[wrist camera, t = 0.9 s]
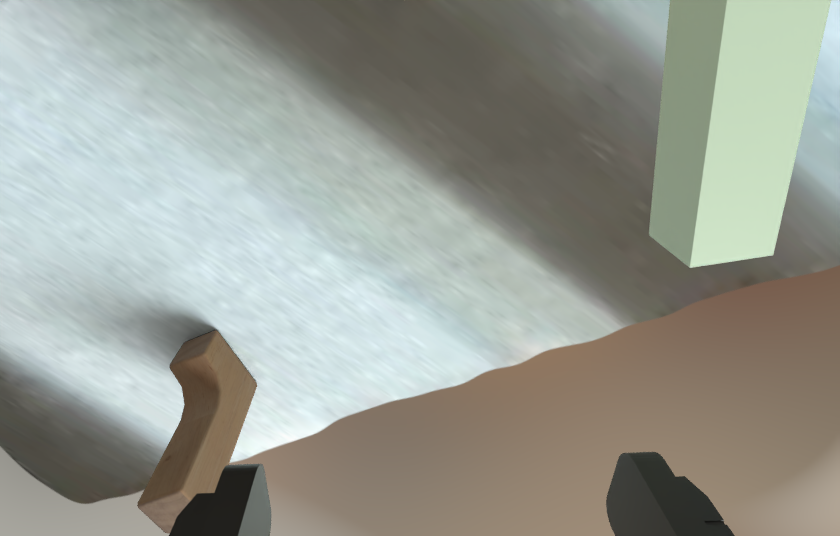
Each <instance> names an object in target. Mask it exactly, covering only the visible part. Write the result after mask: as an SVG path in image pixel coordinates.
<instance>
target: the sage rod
mask: <svg viewBox="0 0 840 536" xmlns="http://www.w3.org/2000/svg"><path fill="white" fill-rule="evenodd" d="M830 3H831V0H670V7H669V19H668V30H667V41H666V52H665V63H664V74H663V85H662V96H661V107H660V118H659V129H658V140H657V151H656V162H655V173H654V184H653V195H652V206H651V217H650V228H649V235H650V236H651V237H652V238H653V239H655V240H656V241H657V242H658V243H660V244H661V245H662V246H663V247H665V248H666V249H667V250H668V251H670V252H671V253H672V254H673V255H675V256H676V257H677V258H678V259H680V260H681V261H682V262H683V263H685V264H686V265H687V266H688V267H690V268H692V267H698V266H705V265H711V264H718V263H724V262H731V261H738V260H744V259H751V258H757V257H764V256H770V255H773V253H774V249H775V245H776V240H777V236H778V231H779V227H780V223H781V218H782V214H783V209H784V205H785V201H786V196H787V192H788V187H789V183H790V179H791V174H792V170H793V165H794V161H795V157H796V152H797V148H798V143H799V139H800V135H801V130H802V126H803V122H804V117H805V113H806V108H807V104H808V100H809V95H810V91H811V86H812V82H813V78H814V73H815V69H816V64H817V60H818V56H819V51H820V47H821V42H822V38H823V34H824V29H825V25H826V20H827V16H828V12H829V7H830Z"/></svg>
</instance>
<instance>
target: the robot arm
mask: <svg viewBox="0 0 840 536" xmlns="http://www.w3.org/2000/svg"><path fill="white" fill-rule="evenodd" d="M606 505H607V514H608V518H609V522H610V525H611V527H612V530H613V531H614V534H615V536H734V534H733V533H732V531H731V530H730V529H729V527H728V526H727V525H725V524H724V520H723V518H722V517H721V516H720V514H719V513H718V511H717V510H716V508H715V507H714V505H713V504H712V502H711V501H710V500H709V498H708V497H707V496H706V495H705V494H704V493H703V492H702V491H700V490H699V489H698V488H697V487H696V486H695V485H694V484H693V483H691V482H690V481H689V480H688V479H687V478H686V477H685V476H683V477H675V476H674V474H673V472H672V471H671V469H670V468H669V466H668V465H667V463H666V461H665V460H664V459H663V457H662V456H661V455H660V454H658V453H656V452H640V453H623V454H621V455H620V456H619V459H618V462H617V465H616V469H615V472H614V475H613V479H612V482H611V485H610V488H609V491H608V495H607V500H606ZM270 528H271V507H270V501H269V495H268V489H267V483H266V477H265V471H264V467H263V465H262V464H244V465H226V466H225V467H224V469H223V471H222V473H221V476H220V478H219V481H218V484H217V487H216V489H215V492H214V493H197V494H196V495H195V496H194V497H193V499H192V500H191V501H190V502H189V503H188V504H187V506H186V507H185V508H184V509H183V510H182V511H181V513H180V514H179V515H178V516H177V518H176V520H175V523H174V525H173V527H172V530H171V532H170V535H169V536H270Z"/></svg>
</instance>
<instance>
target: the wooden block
mask: <svg viewBox="0 0 840 536" xmlns="http://www.w3.org/2000/svg"><path fill="white" fill-rule="evenodd" d="M170 369H171V371H172V372H173V374H174V375H175V377H176V378H177V380H178V382H179V383H180V385H181V386H182V391H183V397H184V404H185V405H184V409H183V413H182V418H181V421H180V423H179V425H178V427H177V429H176V431H175V433H174V434H173V436H172V438H171V440H170V442H169V444H168V446H167V448H166V450H165V452H164V454H163V456H162V457H161V459H160V461H159V463H158V465H157V467H156V469H155V471H154V473H153V475H152V477H151V478H150V480H149V482H148V484H147V486H146V488H145V490H144V492H143V494H142V496H141V498H140V500H139V501H138V505H137V506H138V508H139V509H140V510H141V511H142V512H144V514H146V515H147V516H148V517H149V518H150V519H151V520H152V521H153V522H154V523H155V524H156V525H157V526H158V527H160V528H161V529H162V530H163V531H164V532H165V533H170V532H171V530H172V527H173V525H174V523H175V520H176V518H177V516H178V515H179V514H180V513H181V511H182V510H183V509H184V508H185V507H186V506H187V504H188V503H189V502H190V501H191V500H192V499H193V497H194V496H195V495H196V494H197V493H214V492H215V489H216V487H217V484H218V481H219V478H220V476H221V473H222V471H223V469H224V467H225V466H226V465H229V462H230V459H231V456H232V454H233V451H234V448H235V445H236V443H237V440H238V437H239V434H240V432H241V429H242V426H243V423H244V421H245V418H246V415H247V412H248V409H249V407H250V404H251V401H252V398H253V396H254V393H255V390H256V387H257V383H256V382H255V380H254V379H253V378H252V376H251V375H250V374H249V372H248V371H247V370H246V368H245V367H244V366H243V364H242V363H241V361H240V360H239V359H238V357H237V356H236V355H235V353H234V352H233V351H232V349H231V348H230V347H229V345H228V344H227V343H226V341H225V340H224V339H223V337H222V336H221V335H220V333H219V332H218V331H217V330H215V331H212V332H210V333H207V334H204V335H202V336H199V337H197V338H194V339H192V340H189V341H187V342H185V343H184V344H183V345H182V347H181V348H180V350H179V351H178V353H177V354H176V356H175V358H174V359H173V361H172V362H171V364H170Z"/></svg>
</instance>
